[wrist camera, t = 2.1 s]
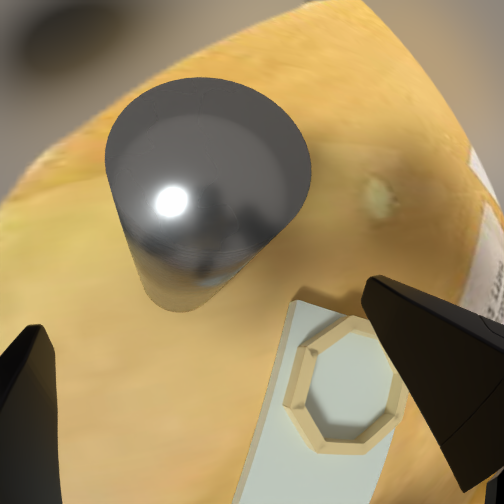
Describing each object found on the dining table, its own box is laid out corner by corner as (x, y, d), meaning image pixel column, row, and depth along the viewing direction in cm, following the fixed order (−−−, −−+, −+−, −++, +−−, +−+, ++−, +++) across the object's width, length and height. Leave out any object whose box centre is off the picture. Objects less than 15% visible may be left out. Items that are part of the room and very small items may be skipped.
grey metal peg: (204, 323, 17) (288, 283, 6) (130, 296, 17) (66, 203, 5) (227, 251, 19) (323, 119, 7) (157, 226, 18) (162, 59, 7)
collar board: (344, 533, 15) (361, 545, 13) (220, 534, 13) (228, 553, 11) (403, 336, 21) (425, 334, 19) (289, 302, 19) (306, 296, 17)
